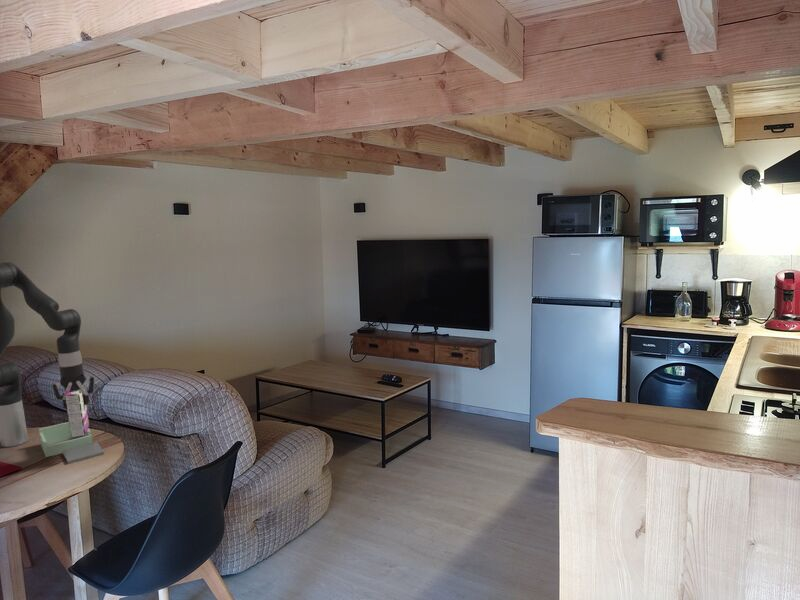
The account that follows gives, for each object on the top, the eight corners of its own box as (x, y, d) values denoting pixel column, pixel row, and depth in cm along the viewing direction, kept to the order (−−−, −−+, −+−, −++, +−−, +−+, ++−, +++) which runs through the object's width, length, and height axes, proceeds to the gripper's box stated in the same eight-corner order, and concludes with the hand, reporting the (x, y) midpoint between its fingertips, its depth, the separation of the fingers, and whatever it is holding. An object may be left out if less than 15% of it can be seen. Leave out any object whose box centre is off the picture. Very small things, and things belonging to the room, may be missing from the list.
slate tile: (63, 453, 216) (62, 451, 216) (97, 444, 223) (97, 442, 223) (68, 463, 207) (67, 461, 206) (104, 454, 214) (103, 451, 214)
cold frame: (41, 445, 225) (38, 428, 224) (86, 434, 235) (83, 418, 234) (46, 457, 213) (43, 439, 212) (93, 445, 223) (90, 428, 222)
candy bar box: (75, 427, 218) (69, 387, 215) (89, 425, 219) (84, 385, 217) (70, 438, 207) (64, 395, 205) (85, 435, 209) (79, 393, 207)
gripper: (90, 357, 217) (95, 399, 219) (46, 365, 208) (53, 408, 210) (94, 361, 211) (99, 404, 213) (49, 369, 202) (56, 414, 205)
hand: (76, 406), depth 212 cm, fingers closed on candy bar box, 5 cm apart
